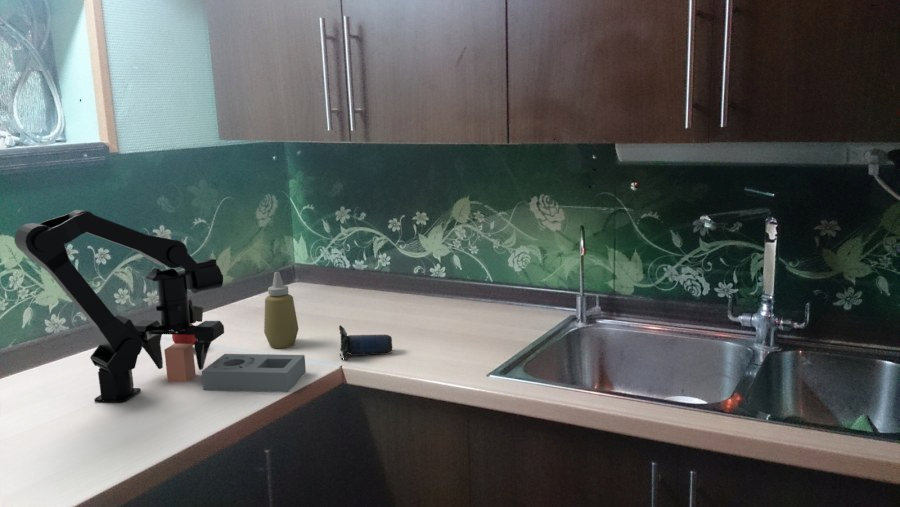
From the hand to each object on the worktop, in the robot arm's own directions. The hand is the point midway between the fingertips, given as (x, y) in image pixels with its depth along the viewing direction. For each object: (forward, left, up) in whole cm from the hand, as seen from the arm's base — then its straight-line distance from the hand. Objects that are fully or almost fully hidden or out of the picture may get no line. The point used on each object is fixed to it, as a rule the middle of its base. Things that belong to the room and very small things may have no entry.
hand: (180, 368), depth 160 cm
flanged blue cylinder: (+17, -36, -2) cm, 40 cm away
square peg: (0, 0, -2) cm, 2 cm away
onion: (+18, +8, -2) cm, 20 cm away
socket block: (-1, -17, -2) cm, 17 cm away
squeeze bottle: (+23, -14, -2) cm, 27 cm away
